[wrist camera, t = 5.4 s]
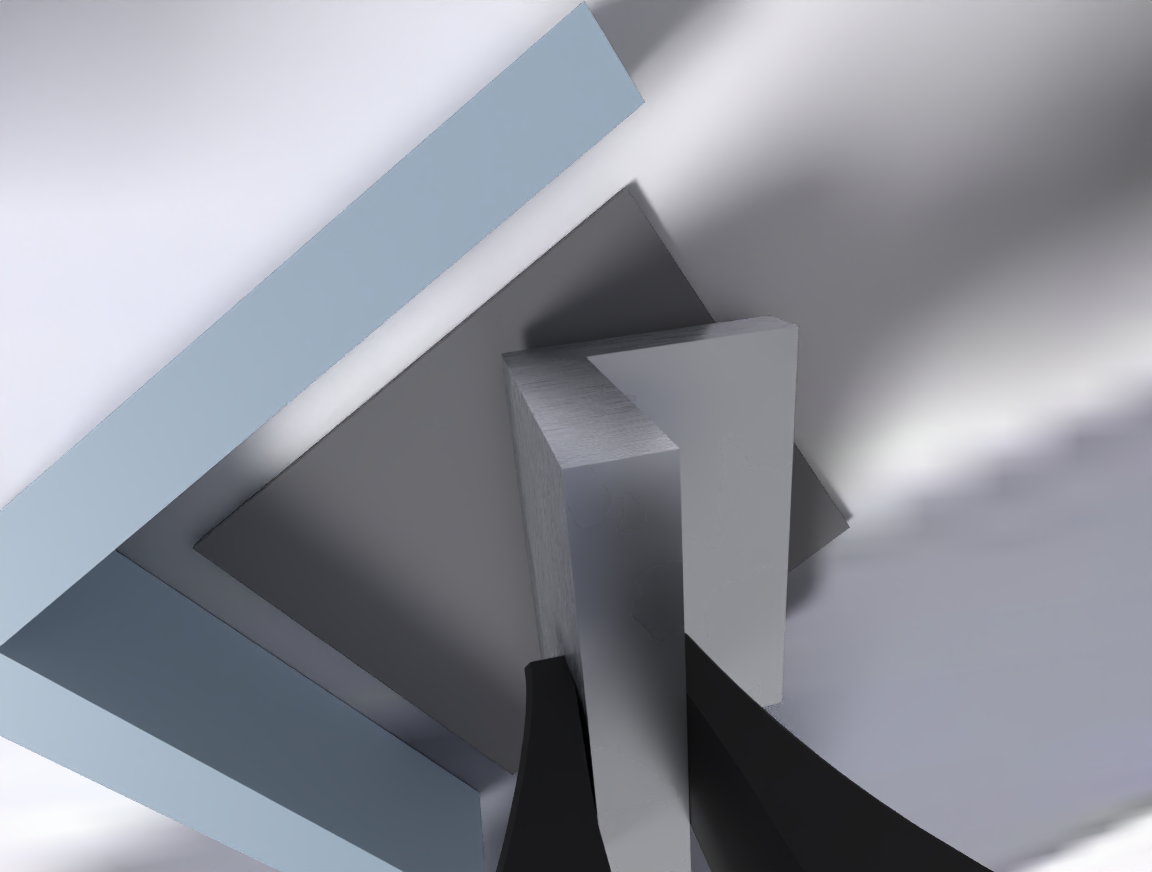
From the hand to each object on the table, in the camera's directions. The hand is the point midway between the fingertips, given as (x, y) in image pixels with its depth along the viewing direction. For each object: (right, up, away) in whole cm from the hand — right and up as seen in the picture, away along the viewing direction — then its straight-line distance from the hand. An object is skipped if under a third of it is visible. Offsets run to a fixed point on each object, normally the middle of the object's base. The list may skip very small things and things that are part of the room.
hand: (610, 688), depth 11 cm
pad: (-1, +2, +5) cm, 5 cm away
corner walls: (-3, +2, +4) cm, 6 cm away
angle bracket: (+1, +2, +4) cm, 5 cm away
